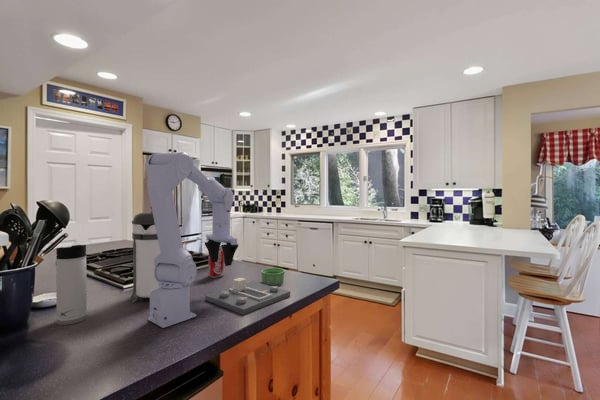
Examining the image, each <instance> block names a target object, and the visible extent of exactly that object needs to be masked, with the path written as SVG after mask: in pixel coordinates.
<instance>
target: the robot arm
mask: <svg viewBox="0 0 600 400" xmlns="http://www.w3.org/2000/svg"><path fill="white" fill-rule="evenodd" d="M144 165H145V170H146V177H147V183H146V187H147V192H148V197H149V203H150V207H151V208H152V210H151V211H152V213H153V217H154V222H155V227H156V232H157V237H158V241H159V246H160V251H161V252H160V253H159V254H158V255H157V256H156V257H155V259H154V277H155V279H156V280H157V281H158V282H159V286H160V287H159V288H158V289H156V290H153V291H152V292H151V294H150V297H149V317H148V321H150V322H151V323H153V324H155V325H157V326H158V327H160V328H163V329H165V328H167V327H170V326H173V325H176V324H179V323H181V322H184V321H187V320H190V319H192V318H195V317H196V318H197V314H196V313H194V312H192V311H191V307H190V306H191V303H190V302H191V301H190V299H191V297H190V296H191V292H190V291H191V290H190V288H191V285H192V284H193V282H194V280H196V278H197V273H198V270H197V266H196V263H195V261H194V260H193V256H192V253H190V252H189V251H187V249H185V248H184V246H183V239H182V236H181V230H180V223H179V219H178V213H177V209H176V203H175V197H174V190H175V188H176V187H178V186H179V185H180V184H181V183H182V182H183V181H184V180H186V179H188V180H189V181H191V182H192V183H194V184H196V185H197V188H198V191H200V193H202V194H203V195H205V197H207V199H208V200H209V204H211V205H212V234H206V235H205V238H206V239H205V240H206V241H205V242H204V246H205V247H206V249H207V252H208V256H209V255H210V259H211V262H212V263H213V262H217V261H218V253H219V247H220V246H221V247H222V250H223V253H224V267H228V266H232V264H233V259H234V256H235V254H236V251H237V249H238V248H239V243H238V238H237V237H234V236H233V235H231V211H232V208H233V202H234V199H235V197H234V192H233V191H232V189H230V188H229V187H224V186H223V184H222V183H220V182H219V181H217V180H216V178H215V176H214V175H212V176H211V175H208V176H207V175H205V174H204V173H203V172H202V171H201V170H200V168H198V166H196V165H195V161H194V158H193V157H192V156H190V154H189V153H187V151H186V152H185V151H179V152H168V153H167V152H166V153H165V152H164V153H163V152H162V153H161V152H154V153H152V154H151V155H150V156H149V157H148V159H147V160H146V161H145V163H144ZM151 208H150V209H151Z"/></svg>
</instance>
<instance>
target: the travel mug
mask: <svg viewBox="0 0 600 400" xmlns="http://www.w3.org/2000/svg"><path fill="white" fill-rule="evenodd" d="M55 250H56V254H55V255H56V257H55V260H56V263H55V269H56V271H55V276H56V278H55V281H56V286H55V287H56V288H55V289H56V294H55V295H56V300H55V301H56V324H57V325H60V326H71V325H75V324H79V323H81V322H82V321H84V320H86V319H87V317H88V316H87V315H88V313H87V311H88V310H87V305H88V302H87V300H88V299H87V297H88V296H87V244H76V245H71V246H69V247H63V246H62V247H57V248H56V249H55Z"/></svg>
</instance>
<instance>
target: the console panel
mask: <svg viewBox="0 0 600 400" xmlns="http://www.w3.org/2000/svg"><path fill="white" fill-rule="evenodd" d="M290 296H291V291H289V290H286V289H283V288H279V286H277V285H268V284H264V283H261V282H257V281H250V282H249V281H248V282H246V290H243V291H236V290H233V286H231V287H229V288H226V289H222V290H219V291H215V292H212V293H208V294H206V295H205V298H204V300H205V301H207V302H210V303H211V304H214V305H217V306H220V307H223V308H226V309H227V310H230V311H233V312H235V313H238V314H241V315H242V316H243V315H247V314H250V313H252V312H254V311H256V310H258V309H259V310H260V309H261V308H264V307H266V306H269V305H271V304H274V303H277V302H278V301H282V300H284V299H285V298H286V299H287V298H289V297H290Z"/></svg>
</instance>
